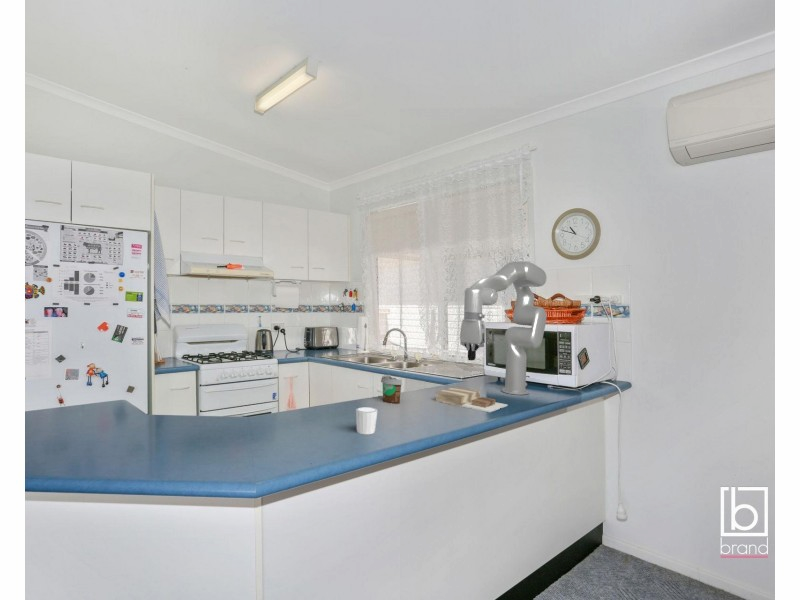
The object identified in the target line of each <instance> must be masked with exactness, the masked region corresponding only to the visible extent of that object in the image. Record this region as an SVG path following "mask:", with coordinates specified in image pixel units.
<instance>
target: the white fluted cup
mask: <svg viewBox="0 0 800 600" xmlns="http://www.w3.org/2000/svg"><path fill="white" fill-rule="evenodd" d="M378 411H379V410H378V409H377V408H374V407H371V406H370V407H368V406H365V407H364V406H362V407H358V408H355V419H356V422H355V423H356V433H358V434H361V435H371V434H374V433H375V432H376V424H377V418H378Z"/></svg>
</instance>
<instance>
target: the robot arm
mask: <svg viewBox="0 0 800 600" xmlns="http://www.w3.org/2000/svg"><path fill="white" fill-rule="evenodd" d="M546 282H547V273H546V272H545V270H544V269H542V268H541V267H540V266H538V265H537V264H535V263H533V262H530V261H526V260H525V261H512V262H507V263H506V264H505V265H504V266H502V267H501V268H499V270H498V271H497V272H496V273H494V274H492V275H489V276H487V277H485V278H482V279H479V280H478V281H475V282H474V283H473V284H472V285H471V286H470V287H467V288H465V289H464V303H463V304H464V309H463V319H462V321H461V325H460V326H461V327H460V332H459V333H460V334H459V339H460V340H459V341H460V346H462V347H465V349H466V351H467V360H468V361H475V360H476V357H477V351H478V350H479V349H480V348H483V347H485V343H486V327H485V321H484V320H483V319H485V314H483V306H492V305H495V304H496V303H497V302H498V300H499V299H498V298H499V294H498V293H499V292H502V291H506V290H507V289H509V287H510V286H511V285H512V284H513V287H514V289H515V292H516V299H515V304H514V308H513V312H512V313H513V314H512V321H513V323H514V324H516V325H519V326H511V327H509V328H507V329H506V331H505V333H504V340H505V346H506V347H505V349H506V353H505V354H506V359H505V381H504V387H502V388H501V392H502V393H505V394H510V395H516V396H517V395H520V396H521V395H522V396H523V395H528V394H529V390H527V389H526V387H527V386H528V383H527V381H526V379H527V376H526V375H527V359H528V357H527V353H526V351H525V348H527V349H538V348H540V347H541V346H542V342H543V338H544V333H545V329H546V324H547V312H546V310H545V308H543V307H541V306H539V305H538V306H536V305H534V303H535V295H534V292H533V291H532V289H531V288H535V287H537V288H540V287H543V286H544V285H545V284H546ZM530 287H531V288H530ZM522 326H523V327H522ZM524 326H525V327H524ZM526 326H528V327H526Z"/></svg>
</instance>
